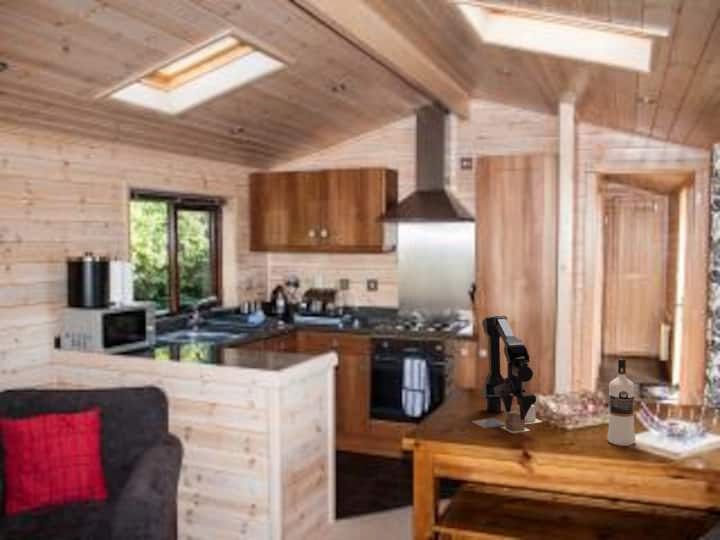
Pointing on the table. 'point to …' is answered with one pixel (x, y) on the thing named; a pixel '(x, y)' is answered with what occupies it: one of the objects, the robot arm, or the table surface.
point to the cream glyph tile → (515, 431)
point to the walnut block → (514, 421)
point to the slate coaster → (489, 423)
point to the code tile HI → (533, 421)
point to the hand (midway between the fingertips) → (515, 416)
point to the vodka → (621, 408)
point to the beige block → (531, 414)
